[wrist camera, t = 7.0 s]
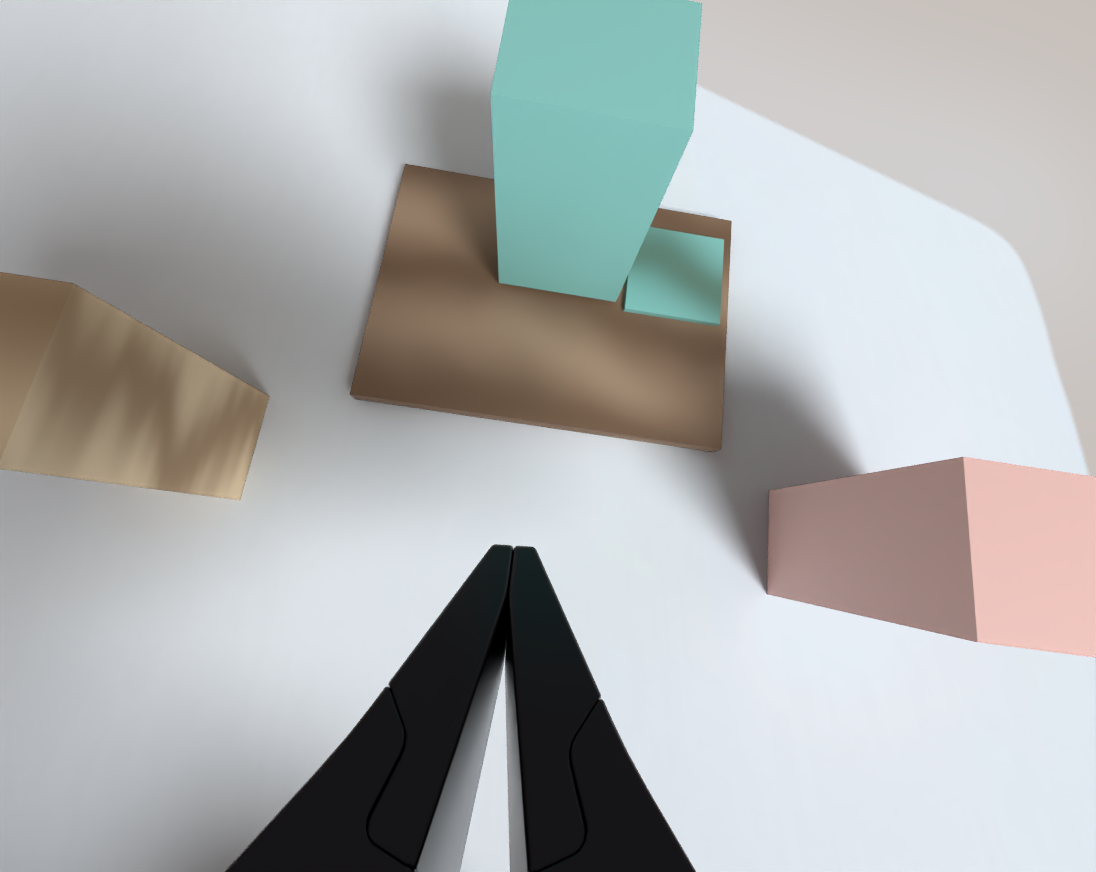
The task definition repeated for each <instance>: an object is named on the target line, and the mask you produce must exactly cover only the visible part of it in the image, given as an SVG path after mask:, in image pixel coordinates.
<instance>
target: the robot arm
mask: <svg viewBox="0 0 1096 872" xmlns="http://www.w3.org/2000/svg"><path fill="white" fill-rule="evenodd" d="M505 650H506V655H505ZM504 658H505V688H506V729H507V769H508V810H509V850H510V872H696V871H695V869H694V867H693V866H692V864H691V862H690V861H689V859H688V857H687V855H686V854H685V852H684V850H683V849H682V847H681V845H680V843H679V842H678V840H677V838H676V837H675V835H674V833H673V831H672V830H671V828H670V826H669V825H668V823H667V821H666V819H665V818H664V816H663V814H662V813H661V811H660V809H659V807H658V806H657V804H656V802H655V801H654V799H653V797H652V795H651V794H650V792H649V790H648V789H647V787H646V785H645V783H644V781H643V779H642V778H641V776H640V774H639V772H638V770H637V769H636V767H635V765H634V763H633V761H632V759H631V758H630V756H629V754H628V752H627V750H626V748H625V746H624V744H623V742H622V739H621V737H620V735H619V733H618V731H617V729H616V727H615V725H614V723H613V721H612V718H611V716H610V714H609V712H608V710H607V707H606V705H605V703H604V701H603V700H602V699H601V694H600V692H599V690H598V688H597V685H596V683H595V681H594V679H593V676H592V674H591V672H590V670H589V667H588V665H587V663H586V661H585V658H584V656H583V654H582V652H581V649H580V647H579V645H578V643H577V640H576V638H575V636H574V634H573V631H572V629H571V627H570V625H569V622H568V620H567V618H566V616H565V613H564V611H563V609H562V607H561V604H560V602H559V600H558V598H557V595H556V593H555V591H554V589H553V586H552V584H551V582H550V580H549V578H548V575H547V573H546V571H545V569H544V566H543V564H542V562H541V560H540V557H539V555H538V553H537V551H536V549H535V548H534V547H527V546H516V547H515V548H514V549H513V547H512V546H511V545H497V544H495V545H493V546H491V548H490V549H489V550H488V552H487V553H486V554H485V556H484V557H483V558H482V559H481V561H480V562H479V563H478V565H477V566H476V567H475V569H474V570H473V571H472V573H471V574H470V575H469V577H468V578H467V579H466V581H465V582H464V583H463V585H462V586H461V587H460V589H459V590H458V591H457V593H456V594H455V595H454V597H453V598H452V599H451V601H450V602H449V603H448V605H447V606H446V607H445V609H444V610H443V611H442V613H441V614H440V615H439V617H438V618H437V619H436V621H435V622H434V623H433V625H432V626H431V627H430V629H429V630H428V631H427V633H426V634H425V635H424V637H423V638H422V639H421V641H420V642H419V643H418V645H417V646H416V647H415V649H414V650H413V651H412V653H411V654H410V655H409V657H408V658H407V659H406V661H405V662H404V663H403V665H402V666H401V667H400V669H399V670H398V671H397V673H396V674H395V675H394V677H393V678H392V679H391V681H390V682H389V687H385V688H384V689H383V691H382V692H381V693H380V695H379V696H378V697H377V699H376V700H375V701H374V703H373V704H372V705H371V707H370V708H369V709H368V711H367V712H366V713H365V714H364V716H363V717H362V718H361V719H360V721H359V722H358V723H357V724H356V726H355V727H354V728H353V729H352V731H351V732H350V733H349V735H348V736H347V737H346V738H345V739H344V741H343V742H342V743H341V744H340V745H339V746H338V747H337V749H336V750H335V751H334V752H333V753H332V754H331V755H330V756H329V758H328V759H327V760H326V761H325V762H324V763H323V764H322V766H321V767H320V768H319V769H318V770H317V771H316V772H315V774H314V775H313V776H312V777H311V778H310V779H309V780H308V781H307V782H306V783H305V784H304V786H303V787H302V788H301V789H300V790H299V791H298V792H297V793H296V794H295V795H294V796H293V798H292V799H291V800H290V801H289V802H288V803H287V804H286V805H285V806H284V807H283V808H282V810H281V811H280V812H279V813H278V814H277V815H276V816H275V817H274V818H273V819H272V820H271V822H270V823H269V824H268V825H267V826H266V827H265V828H264V829H263V830H262V831H261V832H260V834H259V835H258V836H257V837H256V838H255V839H254V840H253V841H252V842H251V843H250V844H249V846H248V847H247V848H246V849H245V850H244V851H243V852H242V853H241V854H240V855H239V857H238V858H237V859H236V860H235V861H234V862H233V863H232V864H231V865H230V866H229V867H228V868H227V869H226V870H225V871H224V872H460V867H461V862H462V858H463V853H464V848H465V844H466V839H467V834H468V830H469V825H470V820H471V816H472V811H473V806H474V802H475V797H476V792H477V788H478V783H479V778H480V774H481V769H482V764H483V760H484V755H485V750H486V746H487V741H488V736H489V732H490V727H491V722H492V717H493V713H494V708H495V703H496V699H497V694H498V689H499V685H500V680H501V675H502V670H503V665H504Z"/></svg>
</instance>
